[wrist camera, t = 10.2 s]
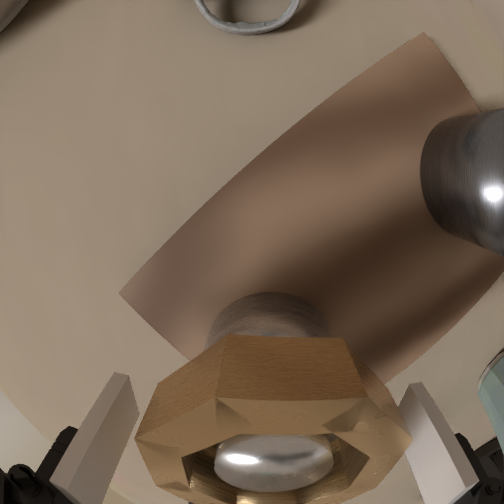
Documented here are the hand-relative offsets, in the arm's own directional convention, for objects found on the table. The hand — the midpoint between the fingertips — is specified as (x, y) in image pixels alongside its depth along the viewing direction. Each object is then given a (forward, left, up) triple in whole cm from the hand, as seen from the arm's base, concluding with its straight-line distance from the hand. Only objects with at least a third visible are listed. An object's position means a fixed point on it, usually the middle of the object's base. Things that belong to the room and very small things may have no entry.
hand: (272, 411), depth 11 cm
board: (0, -8, -7) cm, 10 cm away
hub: (0, 0, -5) cm, 5 cm away
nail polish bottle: (0, -16, -5) cm, 17 cm away
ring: (0, 0, +1) cm, 1 cm away
